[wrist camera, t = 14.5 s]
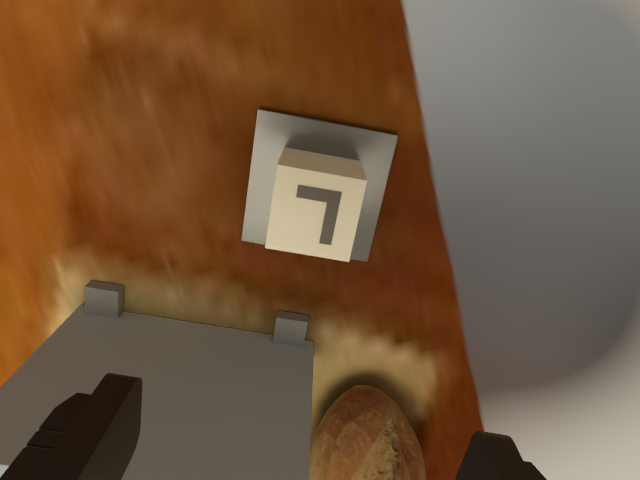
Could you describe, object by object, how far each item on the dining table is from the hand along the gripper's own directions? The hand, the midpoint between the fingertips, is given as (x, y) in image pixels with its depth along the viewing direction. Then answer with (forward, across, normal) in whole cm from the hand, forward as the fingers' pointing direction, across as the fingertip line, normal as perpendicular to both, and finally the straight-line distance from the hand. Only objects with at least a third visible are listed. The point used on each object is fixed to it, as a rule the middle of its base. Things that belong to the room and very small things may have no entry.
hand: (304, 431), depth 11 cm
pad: (+22, 0, 0) cm, 22 cm away
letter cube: (+21, 0, 0) cm, 21 cm away
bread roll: (+22, -8, +22) cm, 32 cm away
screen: (+22, +7, +13) cm, 26 cm away
